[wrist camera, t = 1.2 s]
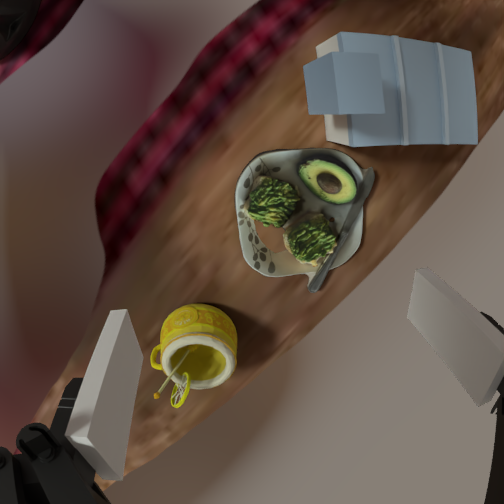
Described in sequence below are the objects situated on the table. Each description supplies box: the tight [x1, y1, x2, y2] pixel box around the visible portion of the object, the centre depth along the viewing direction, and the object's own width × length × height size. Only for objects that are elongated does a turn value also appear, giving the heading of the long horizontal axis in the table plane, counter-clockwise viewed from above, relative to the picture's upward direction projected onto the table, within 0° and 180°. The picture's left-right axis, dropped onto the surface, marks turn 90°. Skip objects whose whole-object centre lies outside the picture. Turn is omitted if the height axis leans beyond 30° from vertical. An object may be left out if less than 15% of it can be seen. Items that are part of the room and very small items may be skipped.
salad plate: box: [235, 148, 375, 293], centre depth 40 cm, size 19×18×5 cm
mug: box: [150, 304, 237, 408], centre depth 40 cm, size 13×11×12 cm
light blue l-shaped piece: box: [303, 32, 478, 147], centre depth 26 cm, size 12×22×9 cm, turn 97°
